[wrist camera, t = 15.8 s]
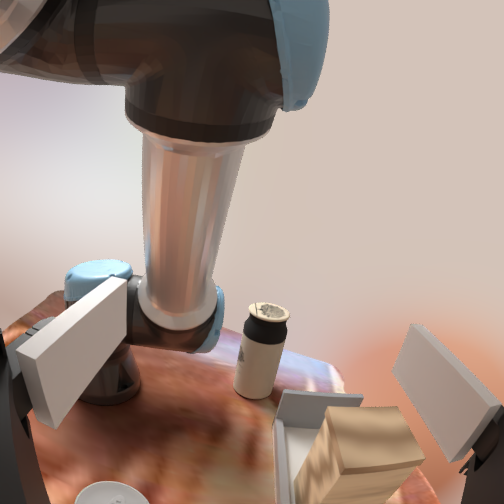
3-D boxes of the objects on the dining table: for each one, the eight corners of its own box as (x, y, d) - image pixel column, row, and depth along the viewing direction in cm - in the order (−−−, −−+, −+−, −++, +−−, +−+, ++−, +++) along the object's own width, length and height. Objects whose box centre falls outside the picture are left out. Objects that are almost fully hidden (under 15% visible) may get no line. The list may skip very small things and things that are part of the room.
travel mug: (272, 380, 60) (290, 306, 56) (270, 403, 52) (292, 323, 48) (236, 373, 60) (250, 298, 56) (230, 395, 52) (244, 314, 49)
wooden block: (291, 480, 32) (327, 406, 29) (351, 479, 32) (397, 406, 29) (296, 531, 23) (344, 468, 20) (363, 525, 23) (425, 458, 20)
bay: (272, 425, 46) (283, 389, 44) (345, 429, 46) (362, 394, 44) (276, 553, 20) (297, 531, 18) (378, 542, 20) (413, 514, 18)
